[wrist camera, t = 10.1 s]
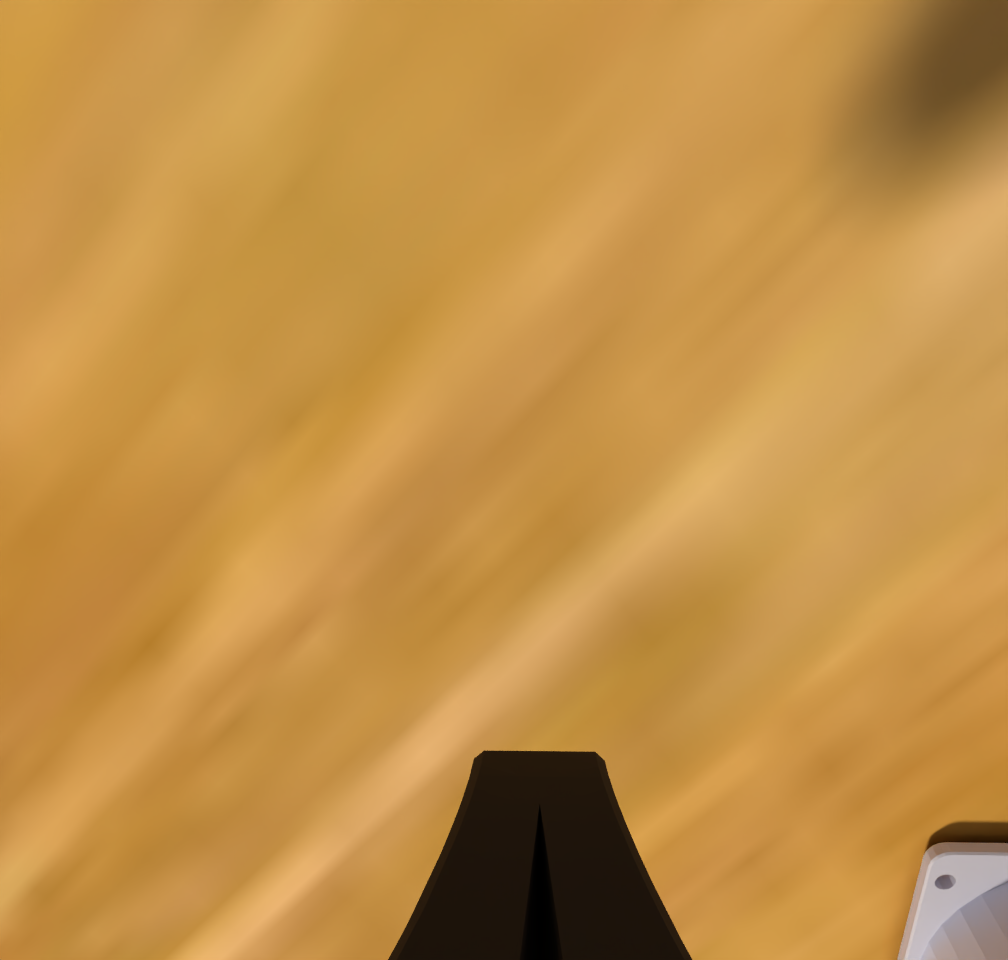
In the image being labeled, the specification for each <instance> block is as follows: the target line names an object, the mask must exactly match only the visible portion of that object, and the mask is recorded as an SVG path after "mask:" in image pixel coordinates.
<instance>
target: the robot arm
mask: <svg viewBox="0 0 1008 960" xmlns="http://www.w3.org/2000/svg"><path fill="white" fill-rule="evenodd" d="M941 875H942V876H941ZM388 960H692V958H691V957H690V955H689V953H688V951H687V949H686V947H685V946H684V944H683V942H682V940H681V938H680V936H679V934H678V932H677V930H676V928H675V926H674V924H673V922H672V920H671V918H670V917H669V915H668V913H667V911H666V909H665V907H664V905H663V903H662V901H661V899H660V897H659V895H658V893H657V891H656V889H655V887H654V885H653V883H652V881H651V879H650V877H649V875H648V872H647V870H646V868H645V866H644V864H643V862H642V860H641V857H640V855H639V853H638V851H637V848H636V846H635V844H634V841H633V839H632V837H631V834H630V832H629V830H628V827H627V825H626V823H625V820H624V818H623V815H622V812H621V810H620V807H619V805H618V802H617V799H616V797H615V794H614V791H613V788H612V785H611V782H610V779H609V776H608V772H607V768H606V764H605V761H604V760H603V759H602V758H601V757H600V756H599V755H598V754H597V753H596V752H561V751H483V752H482V753H481V754H479V755H478V756H477V757H476V758H474V761H473V765H472V769H471V774H470V777H469V781H468V784H467V787H466V790H465V793H464V796H463V799H462V802H461V805H460V807H459V810H458V813H457V815H456V818H455V821H454V823H453V825H452V828H451V830H450V833H449V835H448V838H447V840H446V842H445V845H444V847H443V850H442V852H441V854H440V857H439V859H438V861H437V863H436V865H435V867H434V869H433V871H432V874H431V876H430V878H429V880H428V882H427V884H426V886H425V888H424V891H423V893H422V895H421V897H420V899H419V901H418V903H417V905H416V907H415V910H414V912H413V914H412V916H411V918H410V920H409V922H408V924H407V926H406V928H405V930H404V932H403V934H402V935H401V937H400V939H399V941H398V943H397V945H396V946H395V948H394V950H393V952H392V954H391V956H390V957H389V959H388ZM897 960H1008V843H968V842H943V843H937V844H935V845H933V846H931V847H930V848H929V849H928V850H927V851H926V852H925V854H924V856H923V860H922V864H921V867H920V871H919V875H918V879H917V883H916V887H915V891H914V895H913V899H912V903H911V907H910V911H909V915H908V919H907V923H906V927H905V931H904V935H903V939H902V943H901V947H900V951H899V955H898V959H897Z"/></svg>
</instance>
